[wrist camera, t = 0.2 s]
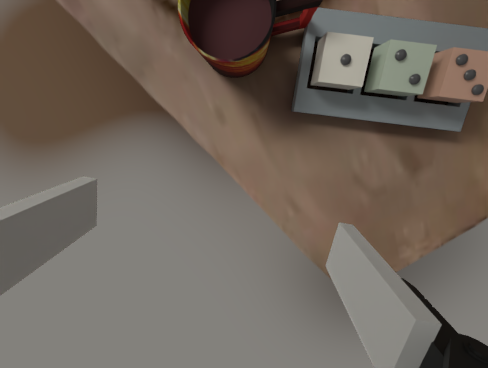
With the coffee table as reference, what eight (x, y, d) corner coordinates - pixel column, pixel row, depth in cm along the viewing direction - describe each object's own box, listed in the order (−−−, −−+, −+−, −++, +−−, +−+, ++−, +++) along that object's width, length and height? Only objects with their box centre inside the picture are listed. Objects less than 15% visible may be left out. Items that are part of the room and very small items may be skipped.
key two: (374, 48, 34) (392, 38, 29) (415, 53, 34) (439, 44, 29) (363, 91, 35) (379, 88, 31) (402, 96, 35) (424, 94, 31)
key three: (429, 54, 34) (456, 46, 29) (470, 59, 34) (502, 52, 29) (417, 98, 35) (440, 96, 31) (456, 102, 35) (484, 101, 31)
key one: (318, 41, 34) (328, 30, 29) (359, 46, 34) (375, 36, 29) (310, 85, 35) (318, 81, 31) (349, 89, 35) (363, 86, 31)
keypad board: (307, 14, 35) (311, 6, 32) (479, 35, 35) (496, 29, 32) (291, 111, 38) (293, 111, 36) (447, 130, 38) (460, 131, 36)
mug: (306, 28, 35) (333, -13, 24) (229, 91, 38) (219, 82, 26) (266, -38, 33) (273, -116, 22) (187, 34, 36) (157, -2, 24)
